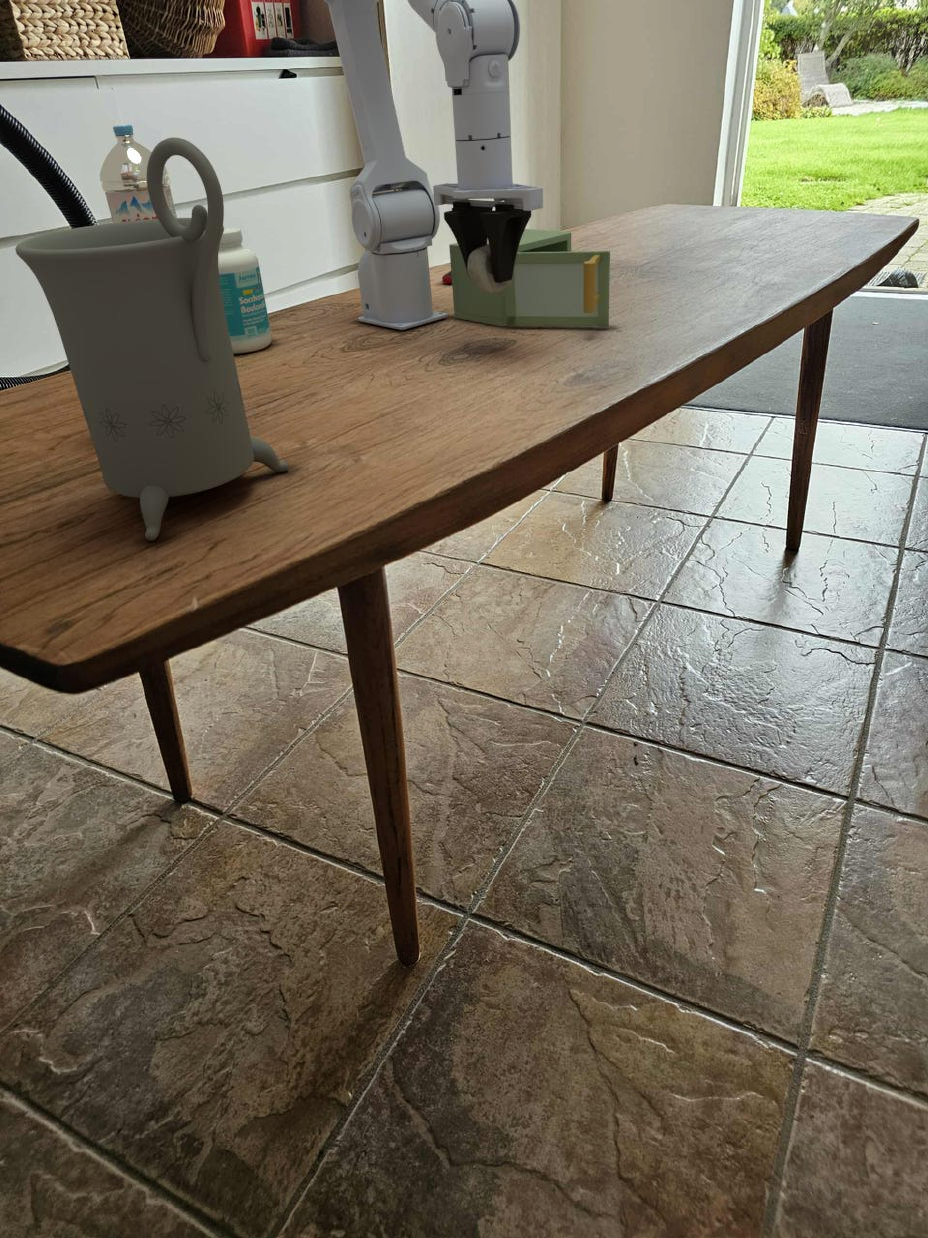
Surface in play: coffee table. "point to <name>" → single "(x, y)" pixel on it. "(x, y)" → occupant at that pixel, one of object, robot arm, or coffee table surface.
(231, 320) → the pill bottle
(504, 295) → the cabinet
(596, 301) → the cabinet door
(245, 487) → the coffee table surface
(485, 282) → the fossil
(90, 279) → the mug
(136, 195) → the water bottle
